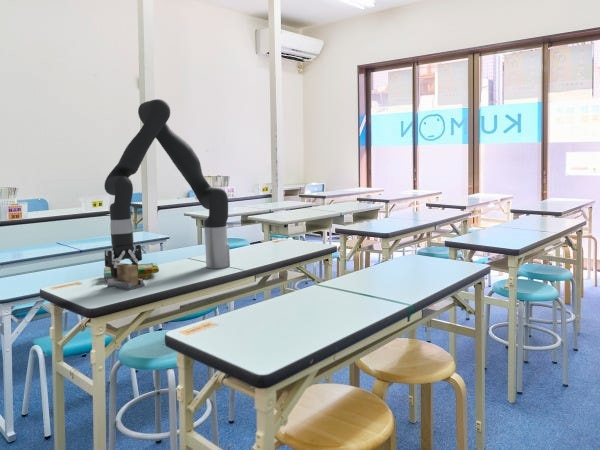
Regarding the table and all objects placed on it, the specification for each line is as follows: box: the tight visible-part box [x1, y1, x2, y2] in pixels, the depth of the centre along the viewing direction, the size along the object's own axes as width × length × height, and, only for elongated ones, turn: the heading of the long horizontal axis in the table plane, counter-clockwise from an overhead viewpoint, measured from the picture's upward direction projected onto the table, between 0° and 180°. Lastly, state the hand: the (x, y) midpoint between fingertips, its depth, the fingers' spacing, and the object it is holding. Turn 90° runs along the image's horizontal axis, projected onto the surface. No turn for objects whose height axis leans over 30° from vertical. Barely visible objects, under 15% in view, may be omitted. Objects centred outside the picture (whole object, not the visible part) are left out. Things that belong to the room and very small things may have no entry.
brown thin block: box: [113, 262, 138, 286], centre depth 185 cm, size 10×3×7 cm, turn 56°
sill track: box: [106, 278, 145, 292], centre depth 186 cm, size 12×7×3 cm, turn 56°
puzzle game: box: [103, 262, 160, 283], centre depth 201 cm, size 12×5×20 cm
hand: (125, 275), depth 185 cm, fingers open, 8 cm apart
